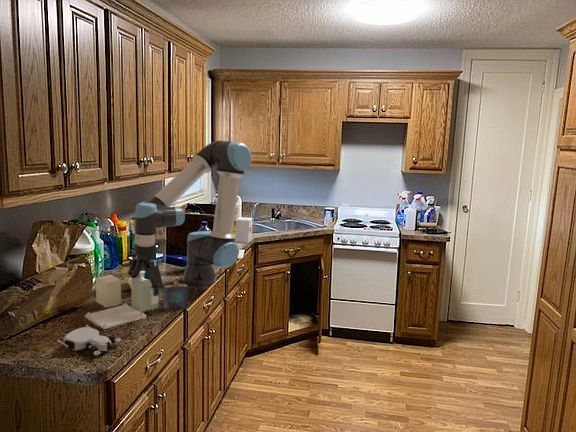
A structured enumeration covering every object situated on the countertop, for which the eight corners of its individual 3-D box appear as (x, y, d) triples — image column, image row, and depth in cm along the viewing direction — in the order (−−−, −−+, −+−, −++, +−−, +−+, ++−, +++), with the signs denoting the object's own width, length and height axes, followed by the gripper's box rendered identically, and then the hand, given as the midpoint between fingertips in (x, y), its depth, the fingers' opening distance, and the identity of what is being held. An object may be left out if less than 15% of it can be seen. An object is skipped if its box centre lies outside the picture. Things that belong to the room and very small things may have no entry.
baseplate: (126, 307, 175) (126, 302, 175) (146, 318, 166) (146, 313, 166) (84, 318, 163) (84, 313, 163) (104, 330, 154) (104, 325, 154)
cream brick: (110, 298, 183) (110, 274, 181) (121, 304, 178) (120, 279, 176) (96, 302, 178) (95, 277, 177) (106, 308, 173) (105, 283, 171)
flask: (163, 309, 175) (163, 282, 173) (163, 307, 178) (163, 280, 176) (188, 308, 178) (188, 281, 176) (187, 305, 181) (187, 279, 179)
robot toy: (123, 347, 145) (84, 335, 150) (123, 334, 145) (85, 322, 149) (96, 364, 134) (55, 351, 138) (96, 350, 133) (55, 337, 137)
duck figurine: (127, 294, 194) (117, 279, 186) (135, 280, 199) (126, 264, 191) (152, 298, 191) (143, 283, 183) (160, 284, 196) (151, 268, 188)
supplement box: (248, 243, 288) (249, 220, 285) (234, 242, 289) (235, 219, 287) (252, 240, 297) (253, 217, 294) (238, 239, 298) (239, 216, 296)
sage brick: (150, 303, 180) (150, 279, 179) (158, 307, 177) (158, 283, 175) (131, 308, 174) (131, 283, 173) (139, 312, 171) (140, 287, 169)
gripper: (119, 239, 176) (118, 291, 180) (155, 252, 160) (154, 310, 164) (136, 237, 182) (136, 288, 186) (173, 249, 166) (171, 305, 169)
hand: (144, 298), depth 175 cm, fingers open, 13 cm apart
